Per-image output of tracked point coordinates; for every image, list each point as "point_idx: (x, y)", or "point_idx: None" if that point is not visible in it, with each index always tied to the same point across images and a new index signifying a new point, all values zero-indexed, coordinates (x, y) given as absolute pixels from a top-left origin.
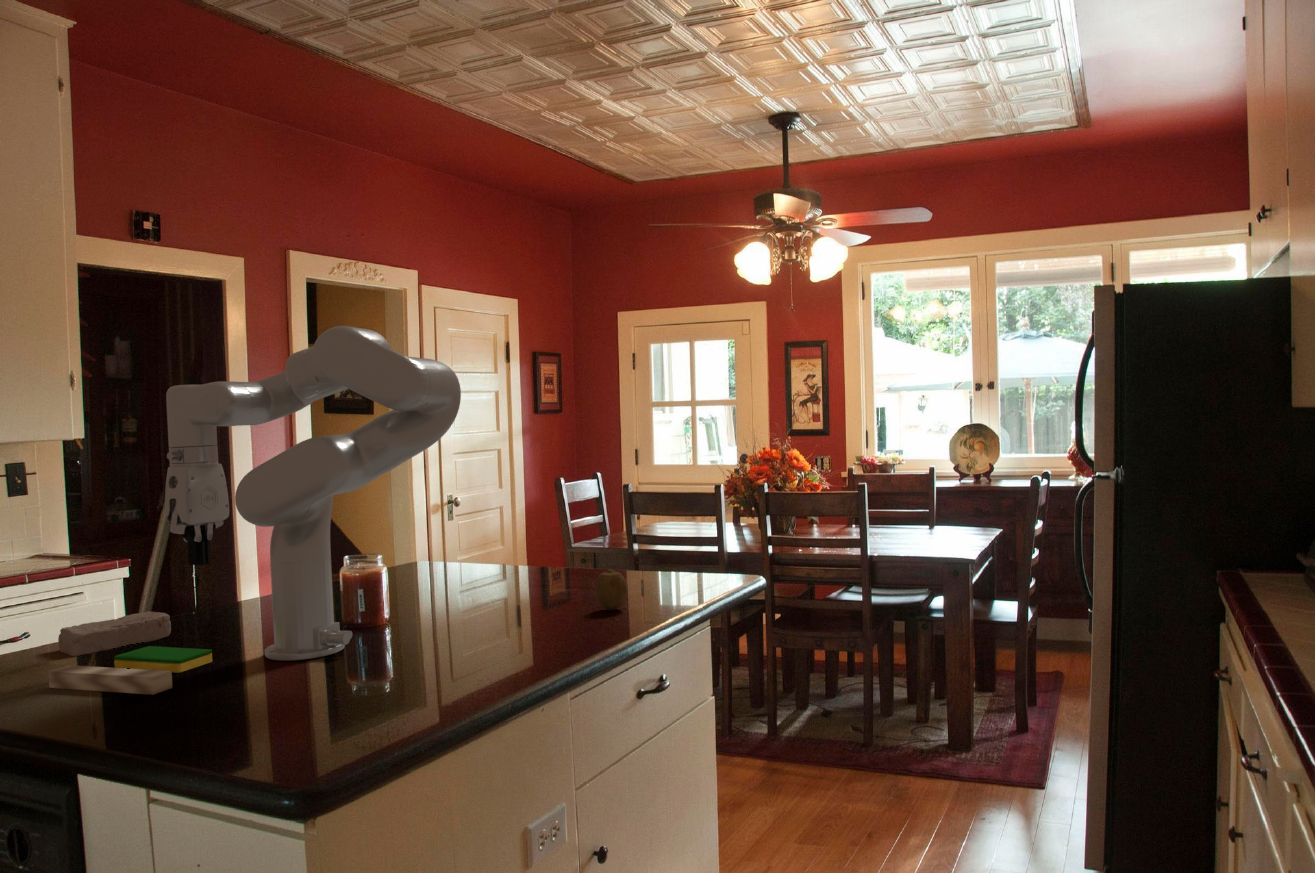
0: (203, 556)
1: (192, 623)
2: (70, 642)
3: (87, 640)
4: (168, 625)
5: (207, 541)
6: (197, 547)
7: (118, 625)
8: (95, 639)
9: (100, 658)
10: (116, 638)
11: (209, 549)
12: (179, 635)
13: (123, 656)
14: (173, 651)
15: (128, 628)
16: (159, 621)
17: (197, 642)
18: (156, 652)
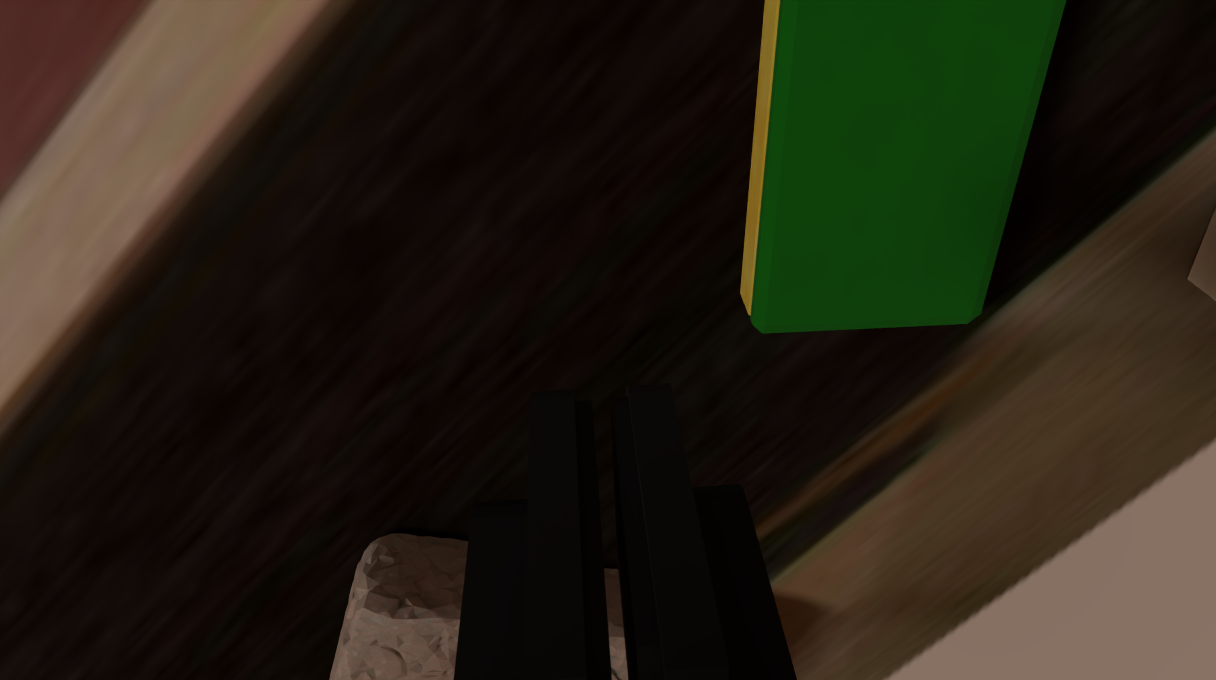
0: (674, 451)
1: (137, 636)
2: None
3: None
4: (376, 570)
5: (574, 664)
6: (731, 629)
7: None
8: None
9: (784, 486)
10: (614, 600)
11: (537, 530)
12: (336, 515)
13: (986, 266)
14: (881, 62)
15: None
16: (419, 599)
17: (413, 321)
18: (905, 153)
